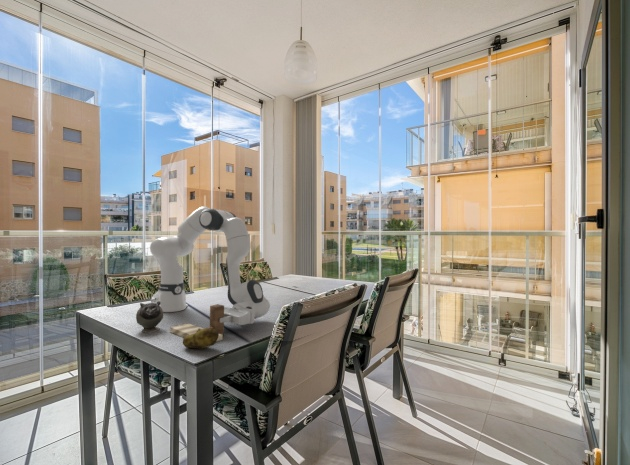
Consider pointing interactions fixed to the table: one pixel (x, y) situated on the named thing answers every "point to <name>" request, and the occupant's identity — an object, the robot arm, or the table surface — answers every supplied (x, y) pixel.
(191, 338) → the potato
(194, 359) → the table surface
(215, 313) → the wooden block
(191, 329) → the plank
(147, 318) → the round clay pot
